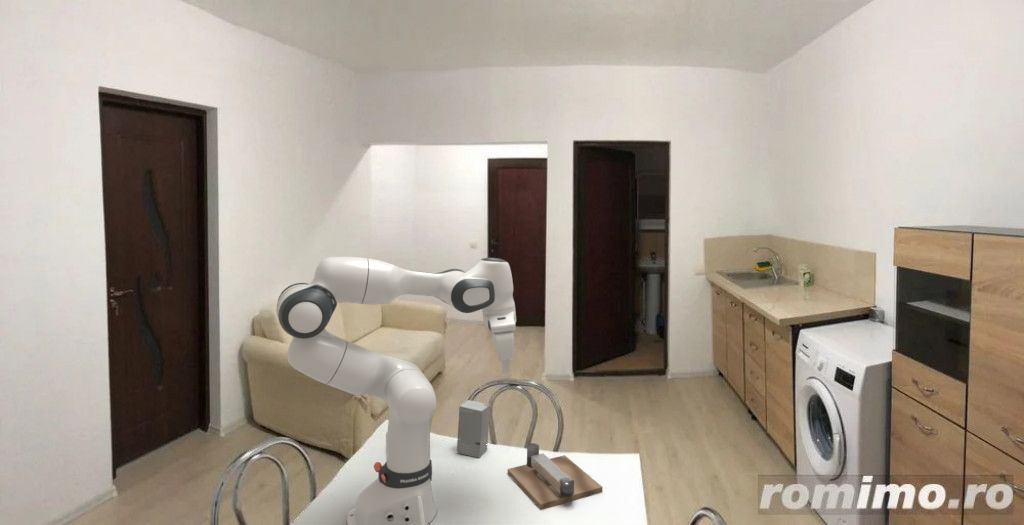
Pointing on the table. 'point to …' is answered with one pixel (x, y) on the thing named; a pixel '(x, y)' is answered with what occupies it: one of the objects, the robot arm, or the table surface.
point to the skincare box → (473, 428)
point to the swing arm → (553, 474)
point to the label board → (542, 489)
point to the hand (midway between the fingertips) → (504, 366)
